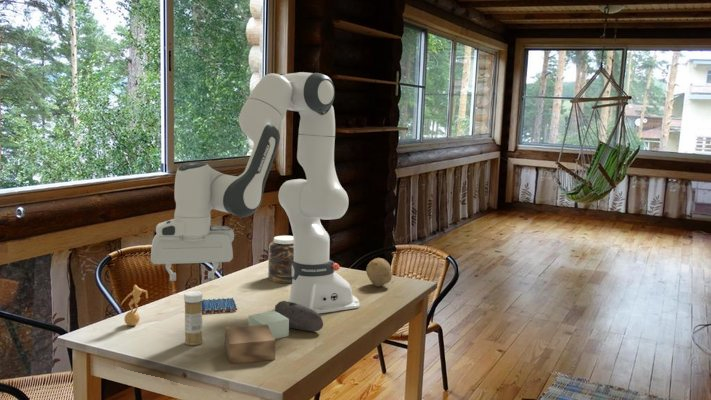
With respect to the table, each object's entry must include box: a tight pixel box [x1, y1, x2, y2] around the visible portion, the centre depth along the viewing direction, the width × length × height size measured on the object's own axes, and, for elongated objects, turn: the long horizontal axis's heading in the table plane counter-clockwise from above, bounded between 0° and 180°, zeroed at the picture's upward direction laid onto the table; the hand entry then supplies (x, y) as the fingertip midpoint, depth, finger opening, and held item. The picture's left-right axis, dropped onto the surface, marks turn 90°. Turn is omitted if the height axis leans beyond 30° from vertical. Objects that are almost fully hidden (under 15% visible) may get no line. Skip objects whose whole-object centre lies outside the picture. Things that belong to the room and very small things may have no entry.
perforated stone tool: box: [274, 300, 324, 332], centre depth 177 cm, size 15×5×7 cm, turn 60°
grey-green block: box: [248, 310, 290, 340], centre depth 172 cm, size 8×8×5 cm
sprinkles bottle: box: [183, 290, 204, 346], centre depth 164 cm, size 5×5×13 cm
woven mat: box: [202, 297, 238, 315], centre depth 193 cm, size 10×11×2 cm
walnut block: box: [224, 325, 276, 365], centre depth 159 cm, size 11×11×5 cm
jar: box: [267, 235, 294, 284], centre depth 225 cm, size 12×12×15 cm
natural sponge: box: [365, 257, 393, 288], centre depth 220 cm, size 9×9×10 cm
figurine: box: [120, 284, 149, 327], centre depth 174 cm, size 8×6×12 cm
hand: (192, 279), depth 162 cm, fingers open, 8 cm apart
